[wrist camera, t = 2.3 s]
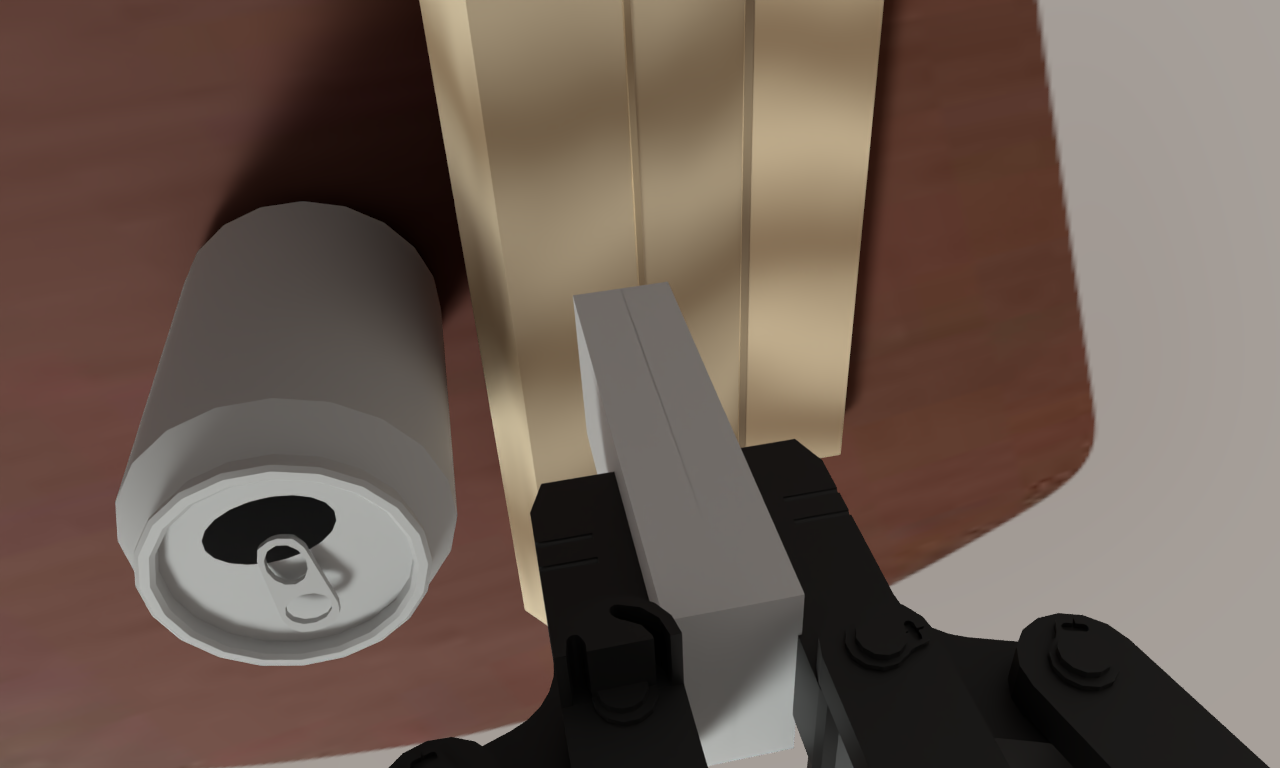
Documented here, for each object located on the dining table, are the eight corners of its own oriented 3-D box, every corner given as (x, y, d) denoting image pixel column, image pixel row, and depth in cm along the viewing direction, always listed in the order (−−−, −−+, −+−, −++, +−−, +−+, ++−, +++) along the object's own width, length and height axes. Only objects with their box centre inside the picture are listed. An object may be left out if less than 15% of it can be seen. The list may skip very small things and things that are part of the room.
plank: (411, -41, 21) (461, -31, 20) (699, -128, 26) (747, -122, 25) (525, 609, 33) (559, 633, 32) (705, 455, 38) (738, 472, 37)
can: (387, 155, 29) (387, 403, 20) (471, 355, 34) (504, 634, 24) (138, 232, 29) (18, 517, 20) (256, 422, 34) (205, 728, 24)
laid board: (730, -133, 27) (746, -122, 25) (874, -146, 27) (897, -136, 26) (726, 446, 39) (737, 472, 37) (826, 429, 39) (840, 455, 38)
